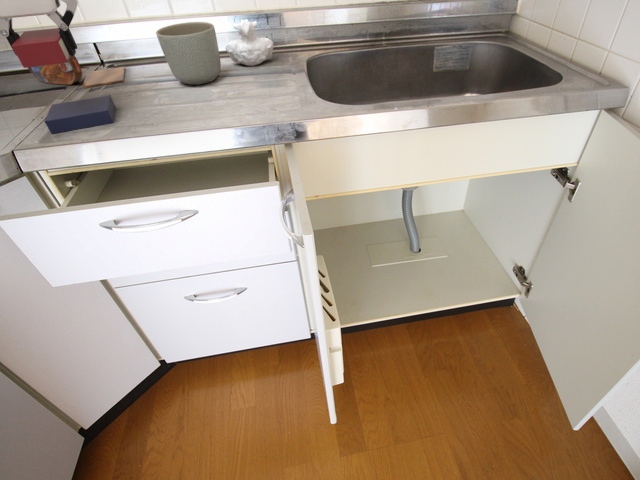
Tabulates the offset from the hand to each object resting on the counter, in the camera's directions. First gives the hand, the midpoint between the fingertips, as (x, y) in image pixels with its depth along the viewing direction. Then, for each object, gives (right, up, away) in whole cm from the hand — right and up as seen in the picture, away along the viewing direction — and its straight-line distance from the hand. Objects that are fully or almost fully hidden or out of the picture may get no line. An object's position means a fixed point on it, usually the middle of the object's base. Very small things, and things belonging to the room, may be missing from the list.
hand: (49, 55), depth 71 cm
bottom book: (+1, -9, +8) cm, 12 cm away
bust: (+29, +14, +30) cm, 44 cm away
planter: (+19, +6, +23) cm, 30 cm away
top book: (0, 0, 0) cm, 0 cm away
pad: (-7, +9, +27) cm, 29 cm away
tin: (-17, +7, +26) cm, 32 cm away
